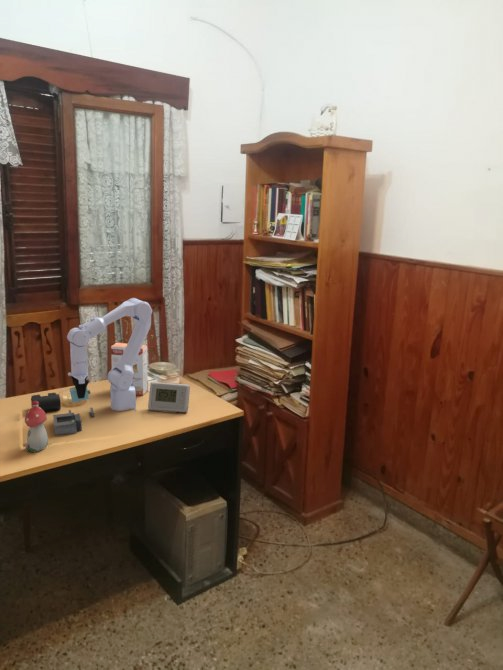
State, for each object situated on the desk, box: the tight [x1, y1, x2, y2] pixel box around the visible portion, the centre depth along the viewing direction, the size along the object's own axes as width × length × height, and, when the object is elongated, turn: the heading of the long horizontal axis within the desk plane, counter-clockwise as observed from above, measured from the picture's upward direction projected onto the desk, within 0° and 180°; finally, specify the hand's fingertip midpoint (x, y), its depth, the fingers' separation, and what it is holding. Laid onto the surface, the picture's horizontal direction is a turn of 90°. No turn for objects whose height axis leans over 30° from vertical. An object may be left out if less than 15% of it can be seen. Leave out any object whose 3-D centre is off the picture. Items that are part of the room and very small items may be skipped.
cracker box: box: [110, 342, 149, 396], centre depth 220 cm, size 14×6×21 cm, turn 81°
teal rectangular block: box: [69, 386, 91, 403], centre depth 192 cm, size 7×4×4 cm, turn 113°
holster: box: [68, 407, 95, 418], centre depth 194 cm, size 9×7×3 cm
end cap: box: [30, 392, 62, 413], centre depth 198 cm, size 10×7×7 cm
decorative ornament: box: [24, 401, 49, 453], centre depth 169 cm, size 9×6×15 cm
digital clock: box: [147, 381, 191, 413], centre depth 205 cm, size 16×9×11 cm, turn 72°
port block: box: [52, 412, 83, 437], centre depth 183 cm, size 9×10×5 cm
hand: (80, 396), depth 193 cm, fingers closed on teal rectangular block, 3 cm apart
